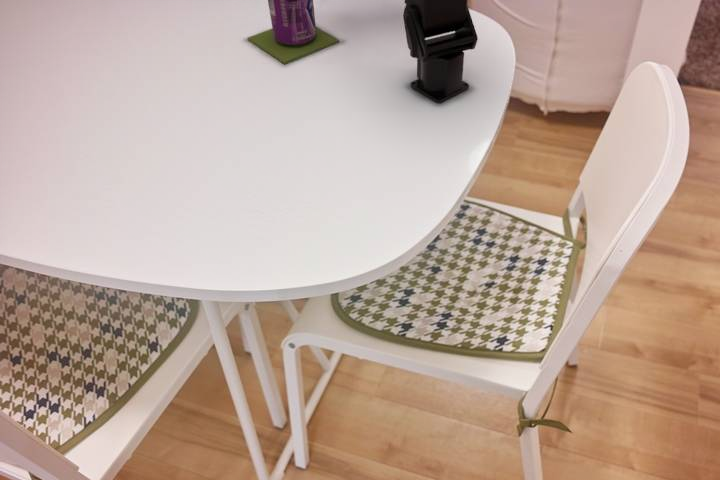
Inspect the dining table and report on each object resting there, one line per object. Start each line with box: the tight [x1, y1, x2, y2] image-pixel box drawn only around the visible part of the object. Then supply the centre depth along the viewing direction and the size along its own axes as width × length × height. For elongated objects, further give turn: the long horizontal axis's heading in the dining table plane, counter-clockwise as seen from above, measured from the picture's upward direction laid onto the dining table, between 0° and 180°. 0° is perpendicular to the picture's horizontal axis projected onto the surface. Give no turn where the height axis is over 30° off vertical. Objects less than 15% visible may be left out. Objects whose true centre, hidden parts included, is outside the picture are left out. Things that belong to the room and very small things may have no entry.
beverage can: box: [267, 0, 317, 45], centre depth 98 cm, size 7×7×12 cm
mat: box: [247, 26, 340, 65], centre depth 102 cm, size 11×11×1 cm
